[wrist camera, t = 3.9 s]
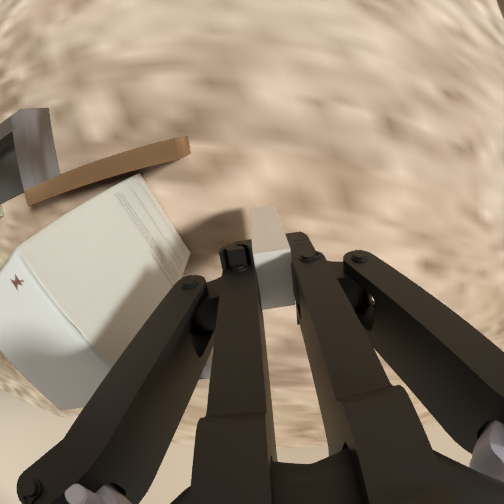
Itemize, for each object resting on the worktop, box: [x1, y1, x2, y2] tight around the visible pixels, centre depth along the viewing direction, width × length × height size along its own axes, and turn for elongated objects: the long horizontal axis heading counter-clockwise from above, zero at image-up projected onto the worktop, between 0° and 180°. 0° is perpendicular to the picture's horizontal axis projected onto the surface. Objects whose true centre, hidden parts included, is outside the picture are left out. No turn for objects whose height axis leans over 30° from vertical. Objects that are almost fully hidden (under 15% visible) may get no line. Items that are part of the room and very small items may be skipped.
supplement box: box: [0, 173, 190, 410], centre depth 14 cm, size 7×7×13 cm
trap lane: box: [0, 108, 213, 379], centre depth 18 cm, size 24×27×4 cm
